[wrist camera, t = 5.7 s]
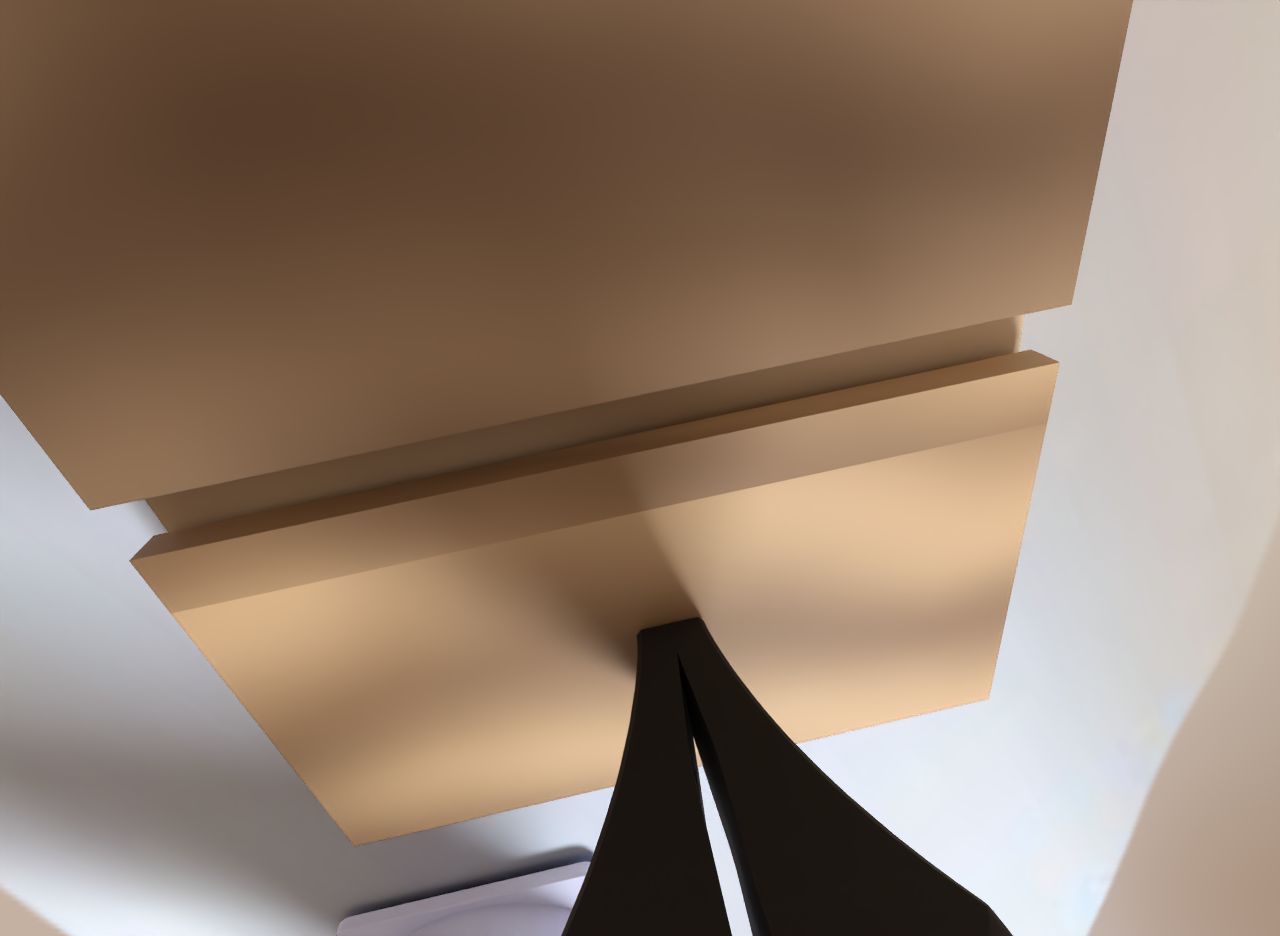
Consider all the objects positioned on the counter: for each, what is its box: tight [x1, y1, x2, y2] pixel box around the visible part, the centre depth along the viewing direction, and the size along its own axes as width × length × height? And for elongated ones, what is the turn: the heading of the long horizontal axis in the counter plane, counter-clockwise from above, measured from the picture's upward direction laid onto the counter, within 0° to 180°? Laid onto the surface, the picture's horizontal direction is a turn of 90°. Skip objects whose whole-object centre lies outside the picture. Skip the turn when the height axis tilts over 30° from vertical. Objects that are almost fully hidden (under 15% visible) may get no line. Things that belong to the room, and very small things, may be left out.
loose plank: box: [130, 350, 1060, 847], centre depth 13 cm, size 9×16×1 cm, turn 100°
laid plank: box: [0, 0, 1133, 532], centre depth 9 cm, size 9×16×1 cm, turn 100°
